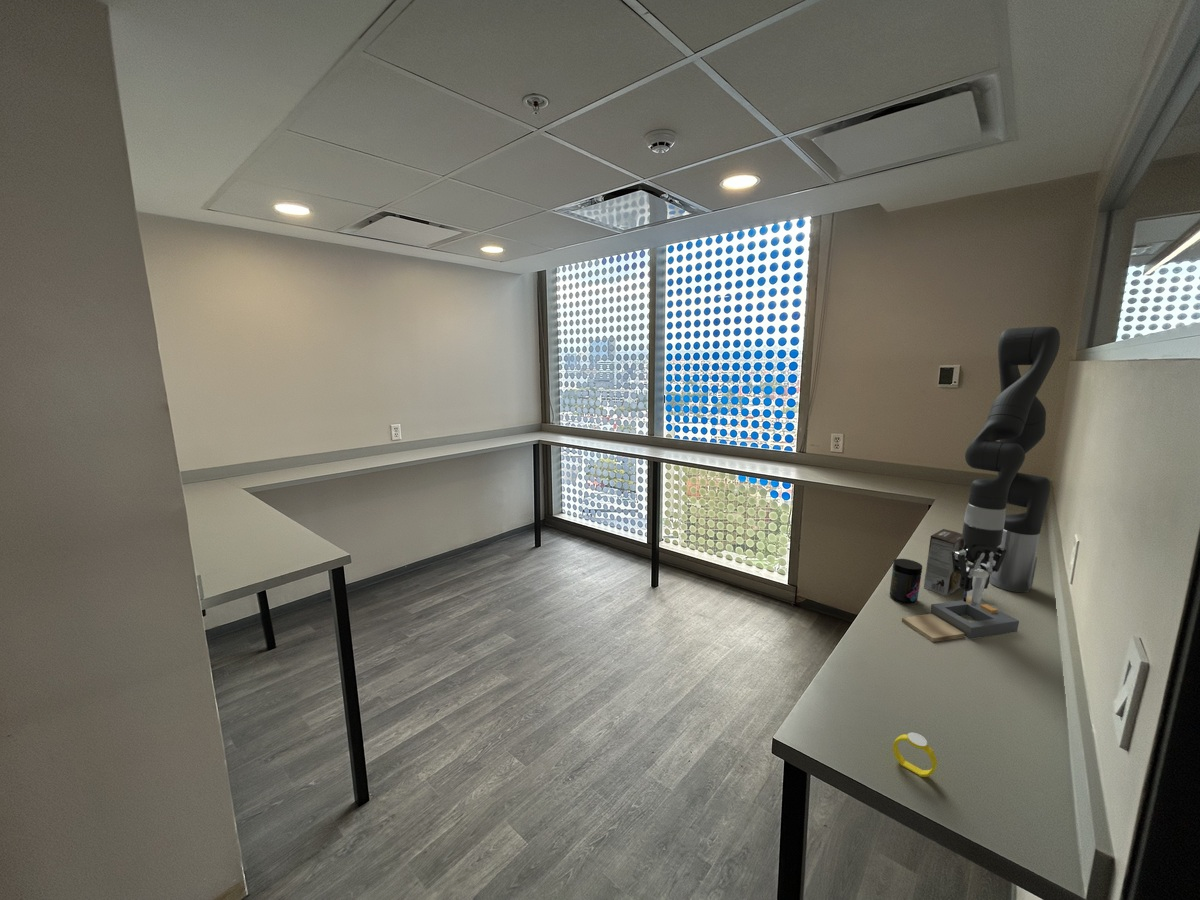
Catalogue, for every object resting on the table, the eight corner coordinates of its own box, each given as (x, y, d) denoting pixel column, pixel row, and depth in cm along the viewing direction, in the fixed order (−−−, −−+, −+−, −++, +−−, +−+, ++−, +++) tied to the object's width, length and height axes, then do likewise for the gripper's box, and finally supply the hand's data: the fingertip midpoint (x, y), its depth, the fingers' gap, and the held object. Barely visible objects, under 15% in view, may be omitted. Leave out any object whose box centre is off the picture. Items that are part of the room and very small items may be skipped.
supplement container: (902, 606, 129) (907, 570, 127) (883, 594, 135) (887, 559, 133) (923, 603, 130) (928, 567, 128) (903, 591, 137) (907, 557, 135)
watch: (934, 777, 78) (942, 747, 76) (929, 787, 76) (937, 756, 75) (894, 751, 82) (901, 723, 81) (888, 760, 81) (895, 731, 79)
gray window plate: (974, 608, 127) (976, 595, 127) (1017, 631, 117) (1019, 617, 116) (929, 614, 125) (931, 601, 124) (969, 639, 114) (972, 624, 113)
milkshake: (983, 601, 120) (991, 564, 118) (982, 609, 116) (989, 571, 114) (961, 595, 123) (968, 558, 121) (958, 602, 119) (965, 565, 117)
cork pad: (931, 617, 123) (931, 613, 123) (964, 637, 115) (964, 633, 115) (901, 621, 122) (902, 617, 121) (932, 642, 113) (933, 638, 113)
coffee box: (936, 579, 144) (943, 528, 141) (961, 587, 139) (969, 534, 135) (922, 587, 139) (929, 535, 136) (947, 596, 134) (956, 542, 130)
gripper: (992, 515, 120) (982, 578, 124) (944, 520, 117) (935, 584, 121) (1024, 525, 113) (1012, 592, 116) (974, 531, 110) (963, 599, 113)
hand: (973, 588), depth 118 cm, fingers closed on milkshake, 4 cm apart
